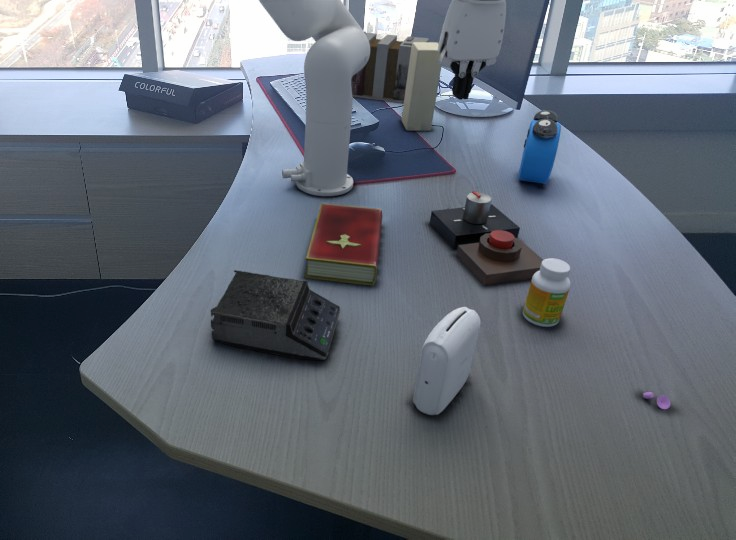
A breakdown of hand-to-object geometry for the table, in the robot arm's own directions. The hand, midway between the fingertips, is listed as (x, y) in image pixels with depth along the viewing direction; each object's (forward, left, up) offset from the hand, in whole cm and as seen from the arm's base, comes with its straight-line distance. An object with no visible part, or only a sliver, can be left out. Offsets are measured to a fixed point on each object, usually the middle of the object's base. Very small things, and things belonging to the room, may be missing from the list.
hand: (460, 97), depth 118 cm
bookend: (+18, +77, -24) cm, 82 cm away
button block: (0, -22, -23) cm, 32 cm away
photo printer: (-25, -49, -24) cm, 60 cm away
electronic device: (-43, -31, -24) cm, 58 cm away
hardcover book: (-25, -11, -24) cm, 36 cm away
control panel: (+1, -10, -23) cm, 26 cm away
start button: (0, -21, -20) cm, 29 cm away
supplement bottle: (-2, -37, -24) cm, 44 cm away
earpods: (+2, -57, -24) cm, 62 cm away
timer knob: (+1, -10, -20) cm, 23 cm away
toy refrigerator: (+16, +47, -24) cm, 55 cm away
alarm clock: (+26, +9, -24) cm, 36 cm away
